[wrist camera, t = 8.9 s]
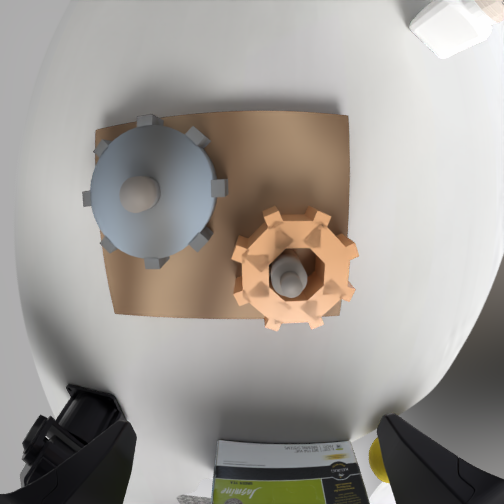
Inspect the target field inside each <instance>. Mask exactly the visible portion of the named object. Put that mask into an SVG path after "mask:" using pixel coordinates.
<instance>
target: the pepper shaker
mask: <svg viewBox="0 0 504 504" xmlns="http://www.w3.org/2000/svg"><path fill="white" fill-rule="evenodd" d="M503 20H504V0H433V1H432V2H431V3H430V4H428V5H427V6H426V7H425V8H423V9H422V10H421V11H420V12H419V13H418V15H417V16H416V17H415V18H414V19H413V20H412V21H411V22H410V27H409V28H410V30H411V31H412V32H413V33H414V34H415V35H416V36H417V37H418V38H419V39H420V40H421V41H422V42H423V43H424V44H425V45H426V46H427V47H428V48H429V49H430V50H431V51H432V52H433V53H434V54H435V55H436V56H437V57H439V58H440V59H445V58H447V57H450V56H452V55H454V54H456V53H458V52H460V51H462V50H464V49H467V48H469V47H471V46H473V45H476V44H478V43H480V42H483V41H485V40H486V39H487V38H488V36H489V35H490V33H491V31H492V28H493V24H495V23H500V22H501V21H503Z"/></svg>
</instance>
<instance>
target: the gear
mask: <svg viewBox="0 0 504 504" xmlns="http://www.w3.org/2000/svg"><path fill="white" fill-rule="evenodd" d="M262 212H263V216H264V219H265V222H264V223H263V224H262V225H261V226H260V227H259V228H258V229H257V230H256V231H255V232H254V233H253V234H252V235H251V236H250V237H249V238H246V237H243V236H240V235H239V237H238V239H237V242H236V244H235V247H234V251H233V254H232V258H231V259H232V260H235V261H237V262H240V263H242V276H240V277H237V278H236V280H235V286H234V292H233V295H234V297H235V299H236V301H237V303H238V305H239V306H241V305H244V304H247V303H250V304H251V305H252V306H253V307H255V308H256V309H257V310H258V311H259V312H261V313H262V314H263V315H264V321H265V328H268V329H272V330H275V331H278V330H279V328H280V326H281V324H282V323H304V322H308V323H309V325H310V328H311V330H312V329H315V328H317V327H319V326H322V325H324V323H323V320H322V318H321V317H322V316H323V315H324V314H325V313H326V312H327V311H328V310H330V309H331V308H332V307H333V306H334V305H335V304H336V303H337V302H338V301H339V300H340V299H343V300H346V301H348V302H349V301H350V300H351V298H352V296H353V294H354V292H355V288H354V287H353V286H352V285H351V283H350V282H349V281H348V276H349V265H350V260H352V259H354V258H356V257H358V256H359V254H358V251H357V248H356V244H355V243H354V242H353V241H352V240H350V239H349V238H347V237H346V236H345V235H343V234H339V235H337V236H335V235H334V234H333V233H332V232H331V231H330V230H329V229H328V227H327V226H328V224H329V221H330V219H331V216H329V215H328V214H326V213H324V212H322V211H320V210H318V209H316V208H313V207H311V206H309V205H308V208H307V210H306V213H305V214H287V215H280V213H279V211H278V209H277V208H276V206H273V207H271V208H268V209H266V210H264V211H262ZM286 248H310V249H311V250H312V251H313V252H314V253H315V254H316V257H315V271H314V272H313V273H312V274H311V275H310V276H309V277H308V278H307V284H306V286H305V288H304V289H303V291H302V292H301V294H300V295H299V296H297V297H294V298H289V297H286V296H282V295H280V294H279V293H277V292H276V291H275V289H274V288H273V285H272V281H271V275H270V274H269V265H270V264H271V263H272V262H273V261H274V260H275V259H276V258H277V257H278V256H279V255H280V254H281V253H282V252H283V251H284V250H285V249H286Z"/></svg>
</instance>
